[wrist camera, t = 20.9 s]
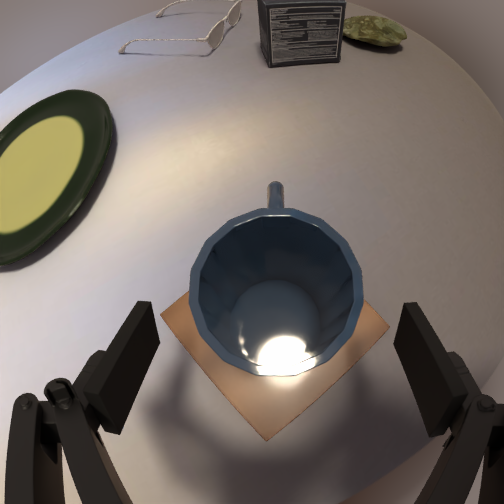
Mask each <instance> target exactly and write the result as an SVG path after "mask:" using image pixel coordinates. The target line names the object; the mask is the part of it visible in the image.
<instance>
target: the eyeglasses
mask: <svg viewBox="0 0 504 504" xmlns="http://www.w3.org/2000/svg"><path fill="white" fill-rule="evenodd" d="M181 1H190V0H181ZM181 1H177V2H181ZM230 1H234V2H236V3H235V4H234V6H233V7H232V8H231V9H230V11H229V12H228V16H226V17H224V19H223V20H220V21H219V22H218V23H217V24H216V25H215V26H214V27H213V28H212V29H211V30H210V32H209V33H208V36H207V37H206V38H205V39H203V38H197V39H196V41H197V42H206V41H207V42H208V44H209V45H210V47H211V48H212V49H215V48H217V47H218V46H219V44H220V43H221V41H222V39H223V33H224V20H225V19H226V18H227V17H228V19H226V22H227V20H228V21H229V23H230V25H231V26H234V25H235V24H236V23H237V22H238V20H239V18H240V13H241V2H242V0H230ZM177 2H174V3H177ZM174 3H172V4H174ZM172 4H170V5H168V6H166V7H164V8H163V9H162V10H160V11H159V12H158V13H157V14H156V17H160V16H162V15H163V13H164V11H165V10H166V9H167V8H168V7H169V6H171V5H172ZM138 40H147V41H148V40H154V39H136V40H132V41H130V42H128V43H126V44H125V45H123V46H122V47H121V48H120V50H119V51H118V53H124V52H125V48H126V46H127V45H128V44H130V43H131V42H133V41H138ZM156 40H193V39H156Z"/></svg>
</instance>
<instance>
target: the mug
mask: <svg viewBox="0 0 504 504" xmlns="http://www.w3.org/2000/svg"><path fill="white" fill-rule="evenodd" d="M188 302H189V307H190V310H191V313H192V316H193V319H194V322H195V325H196V327H197V330H198V333H199V335H200V337H201V338H202V339H203V340H204V341H205V342H206V343H207V344H208V345H209V347H210V348H211V349H212V350H213V351H214V352H215V353H216V354H217V355H218V356H219V357H220V358H221V359H222V360H223V361H224V362H226V363H228V364H230V365H232V366H235V367H237V368H239V369H241V370H244V371H246V372H248V373H251V374H253V375H255V376H296V375H299V374H301V373H303V372H306V371H308V370H310V369H313V368H315V367H317V366H320V365H322V364H324V363H326V362H328V361H329V360H330V359H331V358H332V357H333V356H334V355H335V354H336V353H337V352H338V351H339V350H340V349H341V348H342V346H343V345H344V344H345V343H346V342H347V341H348V340H349V339H350V338H351V337H352V335H353V333H354V330H355V327H356V325H357V322H358V319H359V316H360V313H361V310H362V307H363V304H364V296H363V282H362V270H361V268H360V266H359V264H358V262H357V260H356V258H355V256H354V254H353V252H352V250H351V248H350V246H349V244H348V242H347V241H346V240H345V239H344V238H343V237H342V236H341V235H340V234H339V233H338V232H336V231H335V230H334V229H333V228H332V227H331V226H330V225H328V224H327V223H326V222H325V221H324V220H322V219H321V218H318V217H315V216H312V215H310V214H307V213H304V212H302V211H299V210H296V209H293V208H284V187H283V185H282V184H281V183H280V182H277V181H274V182H271V183H270V184H269V185H268V188H267V208H261V209H257V210H254V211H251V212H249V213H246V214H243V215H241V216H238V217H235V218H233V219H231V220H229V221H228V222H227V223H225V224H224V225H223V226H222V227H221V228H220V229H219V230H217V231H216V232H215V233H214V234H213V235H212V236H211V237H209V238H208V239H207V240H206V241H205V243H204V245H203V247H202V249H201V251H200V253H199V255H198V257H197V259H196V261H195V263H194V264H193V266H192V268H191V273H190V286H189V299H188Z"/></svg>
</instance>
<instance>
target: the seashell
mask: <svg viewBox="0 0 504 504" xmlns="http://www.w3.org/2000/svg"><path fill="white" fill-rule="evenodd" d="M343 35H345V36H347V37H349V38H352V39H357V40H361V41H365V42H367V43H371V44H375V45H379V46H384V47H385V46H395V45H399V44H400V42H401V41H402V40H404V39H407V35H406V33H405V31H404V29H403V28H402V27H401V26H400V25H399V24H397V23H396V22H394V21H392V20H389V19H386V18H382V17H378V16H357V17H351V18H348V19H345V20H344V27H343Z"/></svg>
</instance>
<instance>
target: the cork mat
mask: <svg viewBox="0 0 504 504" xmlns="http://www.w3.org/2000/svg"><path fill="white" fill-rule="evenodd" d="M188 299H189V291H188V292H187V293H185V294H184V295H183V296H182V297H181V298H179V299H178V300H177V301H176V302H174V303H173V304H172V305H171V306H170V307H168V308H167V309H166V310H165V311H164V312H162V313H161V314H160V316H161V317H162V318H163V320H164V321H165V322H166V324H167V325H168V326H169V328H170V329H171V330H172V332H173V333H174V334H175V336H176V337H177V338H178V340H179V341H180V342H181V343H182V345H183V346H184V347H185V349H186V350H187V351H188V352H189V354H190V355H191V356H192V357H193V359H194V360H195V361H196V362H197V364H198V365H199V366H200V367H201V369H202V370H203V371H204V372H205V373H206V375H207V376H208V377H209V378H210V379H211V381H212V382H213V383H214V384H215V385H216V387H217V388H218V389H219V390H220V391H221V392H222V394H223V395H224V396H225V397H226V398H227V399H228V400H229V402H230V403H231V404H232V405H233V406H234V407H235V408H236V409H237V411H238V412H239V413H240V414H241V415H242V416H243V417H244V418H245V419H246V421H247V422H248V423H249V424H250V425H251V426H252V427H253V428H254V429H255V430H256V431H257V432H258V433H259V435H260V436H261V437H262V438H263V439H264V440H265V441H268V440H269V439H270V438H272V437H273V436H274V435H275V434H277V433H278V432H279V431H280V430H282V429H283V428H284V427H285V426H287V425H288V424H289V423H290V422H291V421H293V420H294V419H295V418H296V417H297V416H299V415H300V414H301V413H302V412H303V411H304V410H306V409H307V408H308V407H309V406H310V405H311V404H312V403H314V402H315V401H316V400H317V399H318V398H319V397H320V396H321V395H323V394H324V393H325V392H326V391H327V390H328V389H329V388H330V387H331V386H332V385H333V384H335V383H336V382H337V381H338V380H339V379H340V378H341V377H342V376H343V375H344V374H345V373H346V372H347V371H348V370H349V369H350V368H351V367H352V366H353V365H354V364H355V363H356V362H357V361H358V360H359V359H360V358H361V357H362V356H363V355H364V354H365V353H366V352H367V351H368V350H369V349H370V348H371V347H372V346H373V345H374V344H375V343H376V342H377V341H378V340H379V339H380V337H381V336H382V335H383V334H384V333H385V332H386V331H387V330H388V329H389V328H390V326H389V325H388V324H387V323H386V322H385V321H384V320H383V319H382V318H381V317H380V315H379V314H378V313H377V312H376V311H375V310H374V309H373V308H372V307H371V306H370V305H369V304H368V303H367V302H366V301H365V300H364V304H363V307H362V310H361V313H360V316H359V319H358V322H357V325H356V327H355V330H354V333H353V335H352V337H351V338H350V339H349V340H348V341H347V342H346V343H345V344H344V345H343V346H342V348H341V349H340V350H339V351H338V352H337V353H336V354H335V355H334V356H333V357H332V358H331V359H330V360H329V361H328V362H326V363H324V364H322V365H320V366H317V367H315V368H313V369H310V370H308V371H306V372H303V373H301V374H299V375H296V376H255V375H253V374H251V373H248V372H246V371H244V370H241V369H239V368H237V367H235V366H232V365H230V364H228V363H226V362H224V361H223V360H222V359H221V358H220V357H219V356H218V355H217V354H216V353H215V352H214V351H213V350H212V349H211V348H210V347H209V345H208V344H207V343H206V342H205V341H204V340H203V339H202V338H201V337H200V335H199V333H198V330H197V327H196V325H195V322H194V319H193V316H192V313H191V310H190V307H189V302H188Z"/></svg>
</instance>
